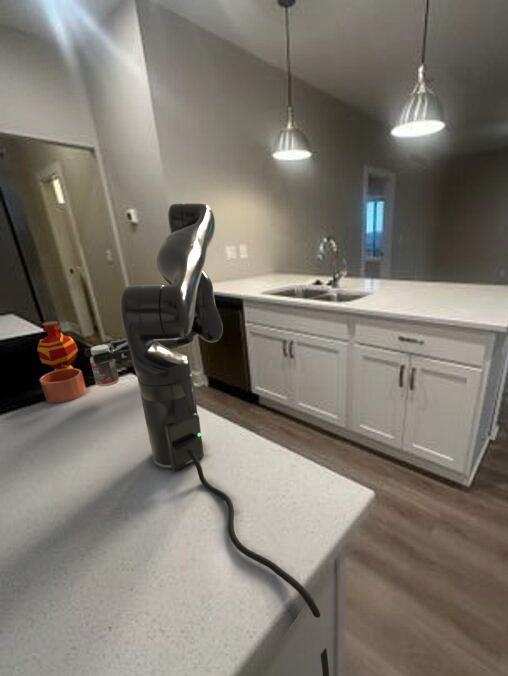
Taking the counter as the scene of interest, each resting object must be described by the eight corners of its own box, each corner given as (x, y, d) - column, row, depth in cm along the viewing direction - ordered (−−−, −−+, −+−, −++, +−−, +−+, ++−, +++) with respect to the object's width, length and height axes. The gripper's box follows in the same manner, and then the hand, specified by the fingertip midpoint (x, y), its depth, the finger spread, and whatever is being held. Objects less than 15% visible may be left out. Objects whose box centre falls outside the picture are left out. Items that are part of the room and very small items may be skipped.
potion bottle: (89, 367, 108) (77, 321, 102) (53, 379, 100) (38, 330, 94) (72, 361, 113) (60, 316, 107) (36, 371, 105) (21, 324, 99)
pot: (91, 393, 92) (86, 375, 90) (50, 406, 86) (44, 386, 83) (80, 383, 98) (75, 365, 96) (41, 394, 91) (35, 375, 89)
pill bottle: (92, 387, 87) (82, 351, 83) (101, 378, 92) (93, 344, 88) (114, 386, 87) (105, 350, 84) (122, 377, 92) (115, 343, 89)
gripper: (142, 322, 99) (76, 336, 88) (166, 332, 90) (96, 349, 79) (147, 347, 102) (83, 363, 91) (170, 359, 93) (103, 378, 82)
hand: (90, 356), depth 85 cm, fingers closed on pill bottle, 5 cm apart
